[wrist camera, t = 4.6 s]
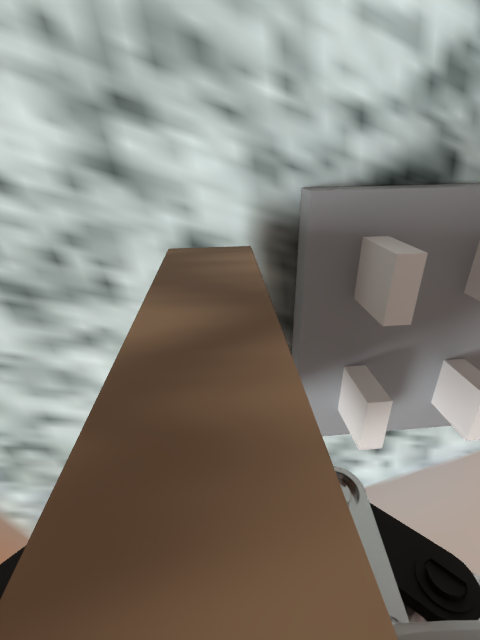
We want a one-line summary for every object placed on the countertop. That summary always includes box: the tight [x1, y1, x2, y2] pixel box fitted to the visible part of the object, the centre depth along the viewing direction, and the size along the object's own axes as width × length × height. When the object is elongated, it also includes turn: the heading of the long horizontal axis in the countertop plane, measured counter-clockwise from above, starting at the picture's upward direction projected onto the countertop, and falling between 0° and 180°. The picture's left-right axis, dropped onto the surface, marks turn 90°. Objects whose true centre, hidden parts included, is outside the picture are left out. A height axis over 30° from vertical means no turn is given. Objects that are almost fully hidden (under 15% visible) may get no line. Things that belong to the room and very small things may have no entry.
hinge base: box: [292, 183, 480, 450], centre depth 17 cm, size 12×14×4 cm
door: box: [0, 246, 398, 640], centre depth 9 cm, size 4×9×12 cm, turn 1°
